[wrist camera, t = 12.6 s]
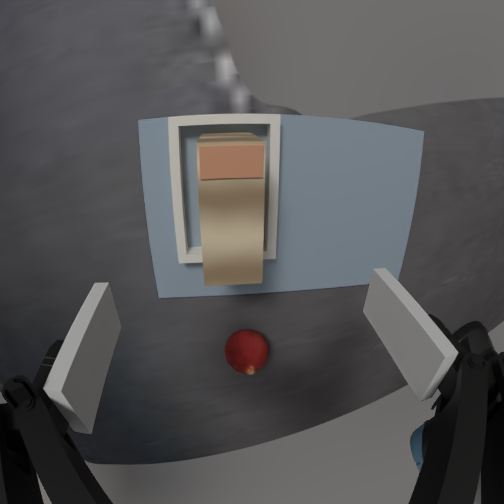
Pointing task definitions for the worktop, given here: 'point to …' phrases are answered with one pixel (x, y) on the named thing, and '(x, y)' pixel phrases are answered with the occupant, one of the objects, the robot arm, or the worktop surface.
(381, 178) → the mat
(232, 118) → the frame
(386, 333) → the robot arm
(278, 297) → the worktop surface
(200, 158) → the block
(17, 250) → the worktop surface
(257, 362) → the onion
